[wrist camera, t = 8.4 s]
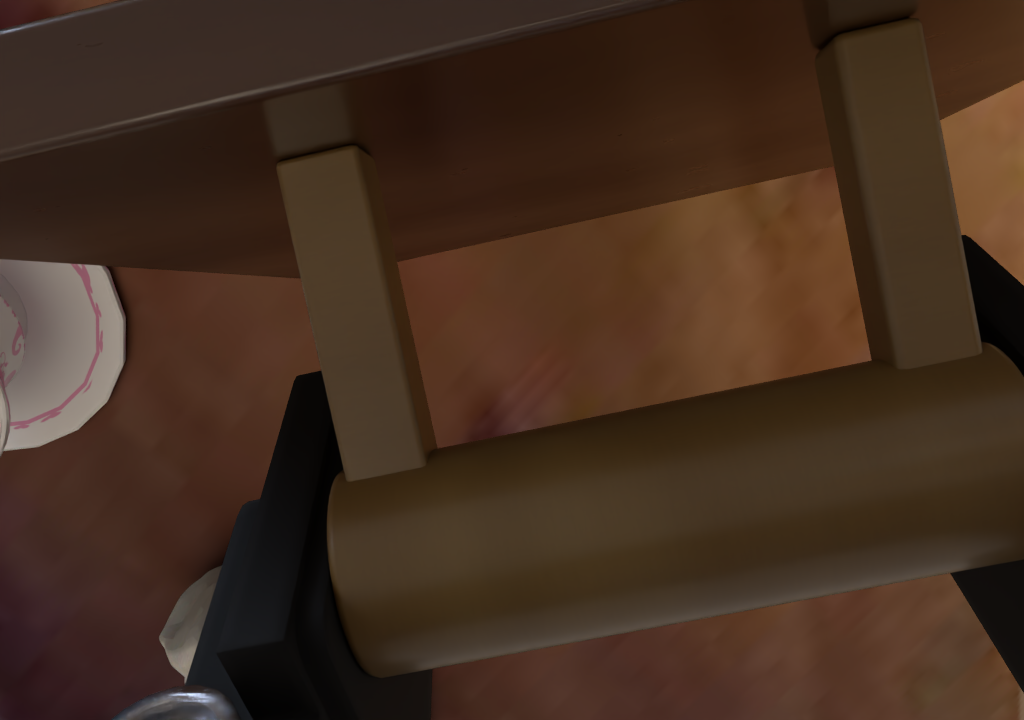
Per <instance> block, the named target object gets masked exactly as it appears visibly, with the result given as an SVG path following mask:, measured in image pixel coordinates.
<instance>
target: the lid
mask: <svg viewBox="0 0 1024 720" xmlns="http://www.w3.org/2000/svg"><path fill="white" fill-rule="evenodd" d="M1023 80H1024V0H118V1H114V2H110V3H106V4H102V5H98V6H94V7H90V8H86V9H82V10H78V11H74V12H70V13H66V14H62V15H58V16H53V17H49V18H45V19H41V20H37V21H33V22H29V23H25V24H21V25H17V26H13V27H9V28H5V29H1V30H0V259H5V260H21V261H36V262H52V263H67V264H83V265H99V266H114V267H130V268H145V269H161V270H177V271H192V272H208V273H223V274H239V275H255V276H270V277H286V278H301V282H302V286H303V291H304V295H305V300H306V304H307V308H308V313H309V317H310V322H311V326H312V331H313V335H314V340H315V344H316V349H317V353H318V358H319V362H320V366H321V371H322V375H323V380H324V384H325V389H326V393H327V398H328V402H329V407H330V411H331V416H332V420H333V424H334V429H335V433H336V438H337V442H338V447H339V451H340V456H341V460H342V465H343V469H344V470H342V471H341V472H339V473H338V475H337V476H336V477H335V479H334V481H333V484H332V487H331V491H330V496H329V503H328V512H327V550H328V562H329V570H330V577H331V583H332V589H333V594H334V599H335V603H336V607H337V611H338V615H339V619H340V622H341V625H342V628H343V631H344V634H345V637H346V639H347V642H348V644H349V646H350V649H351V651H352V653H353V655H354V657H355V659H356V661H357V662H358V664H359V665H360V667H361V668H362V669H363V670H364V672H365V673H367V674H368V675H370V676H374V677H378V678H385V677H390V676H396V675H401V674H407V673H412V672H417V671H423V670H428V669H434V668H439V667H444V666H450V665H455V664H461V663H466V662H471V661H477V660H482V659H488V658H493V657H498V656H504V655H509V654H515V653H520V652H526V651H531V650H536V649H542V648H547V647H553V646H558V645H563V644H569V643H574V642H580V641H585V640H590V639H596V638H601V637H607V636H612V635H618V634H623V633H628V632H634V631H639V630H645V629H650V628H655V627H661V626H666V625H672V624H677V623H682V622H688V621H693V620H699V619H704V618H709V617H715V616H720V615H726V614H731V613H737V612H742V611H747V610H753V609H758V608H764V607H769V606H774V605H780V604H785V603H791V602H796V601H801V600H807V599H812V598H818V597H823V596H828V595H834V594H839V593H845V592H850V591H856V590H861V589H866V588H872V587H877V586H883V585H888V584H893V583H899V582H904V581H910V580H915V579H920V578H926V577H931V576H937V575H942V574H947V573H953V572H958V571H964V570H969V569H975V568H980V567H985V566H991V565H996V564H1002V563H1007V562H1012V561H1018V560H1023V559H1024V377H1023V375H1022V374H1021V372H1020V371H1019V369H1018V368H1017V366H1016V365H1015V364H1014V363H1013V362H1012V360H1011V359H1010V358H1009V357H1008V356H1007V355H1006V354H1005V353H1004V352H1003V351H1001V350H1000V349H999V348H997V347H996V346H994V345H992V344H990V343H986V342H981V338H980V333H979V328H978V322H977V317H976V312H975V306H974V301H973V296H972V290H971V285H970V279H969V274H968V269H967V263H966V258H965V253H964V247H963V242H962V237H961V231H960V226H959V220H958V215H957V210H956V204H955V199H954V194H953V188H952V183H951V178H950V172H949V167H948V161H947V156H946V151H945V145H944V140H943V135H942V129H941V124H940V120H942V119H944V118H946V117H948V116H950V115H952V114H954V113H956V112H958V111H960V110H963V109H965V108H967V107H969V106H971V105H973V104H975V103H977V102H979V101H981V100H983V99H986V98H988V97H990V96H992V95H994V94H996V93H998V92H1000V91H1002V90H1004V89H1006V88H1009V87H1011V86H1013V85H1015V84H1017V83H1019V82H1021V81H1023ZM832 166H834V167H835V172H836V177H837V183H838V188H839V193H840V198H841V203H842V208H843V214H844V219H845V224H846V229H847V234H848V240H849V245H850V250H851V255H852V260H853V266H854V271H855V276H856V281H857V286H858V291H859V297H860V302H861V307H862V312H863V317H864V323H865V328H866V333H867V338H868V343H869V348H870V354H871V359H872V361H867V362H862V363H857V364H852V365H847V366H842V367H838V368H833V369H828V370H823V371H818V372H813V373H808V374H803V375H798V376H793V377H788V378H783V379H778V380H774V381H769V382H764V383H759V384H754V385H749V386H744V387H739V388H734V389H729V390H724V391H719V392H714V393H709V394H705V395H700V396H695V397H690V398H685V399H680V400H675V401H670V402H665V403H660V404H655V405H650V406H645V407H640V408H636V409H631V410H626V411H621V412H616V413H611V414H606V415H601V416H596V417H591V418H586V419H581V420H576V421H571V422H567V423H562V424H557V425H552V426H547V427H542V428H537V429H532V430H527V431H522V432H517V433H512V434H507V435H502V436H498V437H493V438H488V439H483V440H478V441H473V442H468V443H463V444H458V445H453V446H448V447H443V448H437V444H436V439H435V435H434V430H433V425H432V421H431V416H430V412H429V407H428V403H427V398H426V393H425V389H424V384H423V380H422V375H421V371H420V366H419V361H418V357H417V352H416V348H415V343H414V338H413V334H412V329H411V325H410V320H409V316H408V311H407V306H406V302H405V297H404V293H403V288H402V284H401V279H400V274H399V270H398V265H397V262H399V261H403V260H408V259H412V258H417V257H421V256H426V255H431V254H435V253H440V252H444V251H449V250H453V249H458V248H463V247H467V246H472V245H476V244H481V243H485V242H490V241H494V240H499V239H504V238H508V237H513V236H517V235H522V234H526V233H531V232H536V231H540V230H545V229H549V228H554V227H558V226H563V225H568V224H572V223H577V222H581V221H586V220H590V219H595V218H599V217H604V216H609V215H613V214H618V213H622V212H627V211H631V210H636V209H641V208H645V207H650V206H654V205H659V204H663V203H668V202H672V201H677V200H682V199H686V198H691V197H695V196H700V195H704V194H709V193H714V192H718V191H723V190H727V189H732V188H736V187H741V186H746V185H750V184H755V183H759V182H764V181H768V180H773V179H777V178H782V177H787V176H791V175H796V174H800V173H805V172H809V171H814V170H819V169H823V168H828V167H832Z"/></svg>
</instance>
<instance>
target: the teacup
mask: <svg viewBox="0 0 1024 720" xmlns="http://www.w3.org/2000/svg"><path fill="white" fill-rule="evenodd" d="M125 361H126V316H125V313H124V311H123V308H122V305H121V302H120V299H119V297H118V294H117V291H116V288H115V285H114V283H113V280H112V277H111V274H110V272H109V270H108V268H107V267H106V266H99V265H83V264H67V263H52V262H36V261H21V260H5V259H0V457H1V455H2V453H3V451H7V450H16V449H25V448H34V447H39V446H42V445H44V444H46V443H49V442H51V441H53V440H55V439H58V438H60V437H62V436H65V435H67V434H69V433H72V432H74V431H76V430H78V429H79V428H80V427H81V426H82V425H83V424H85V423H86V422H87V421H88V420H89V419H90V418H91V417H92V416H93V415H94V414H95V413H96V412H97V411H98V410H99V409H100V408H101V407H102V406H103V405H104V404H105V403H106V402H107V401H108V400H109V398H110V396H111V394H112V391H113V389H114V386H115V384H116V382H117V379H118V377H119V375H120V372H121V370H122V368H123V365H124V363H125Z"/></svg>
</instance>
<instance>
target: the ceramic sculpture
mask: <svg viewBox="0 0 1024 720" xmlns="http://www.w3.org/2000/svg"><path fill="white" fill-rule="evenodd" d="M221 567H222V566H219V567H217V568H215V569H212V570H210V571H208V572H207V573H206V574H205V575H204V576H203V577H202V578H200V579H199V580H198V581H196V582H195V583H194V584H192V585H191V586H190V587H189V588H188V589H187V590H186V591H185V592H184V593H183V594H182V595H181V597H180V598H179V600H178V602H177V604H176V605H175V607H174V609H173V611H172V613H171V615H170V617H169V619H168V621H167V623H166V625H165V627H164V629H163V631H162V632H161V634H160V637H159V639H160V642H161V644H162V645H163V647H164V648H165V651H166V654H167V656H168V658H169V661H170V663H171V665H172V666H173V667H174V668H175V669H176V670H177V671H178V672H180V673H181V674H182V675H183V676H185V683H186V680H187V676H188V673H189V670H190V667H191V664H192V660H193V657H194V654H195V651H196V648H197V644H198V641H199V638H200V635H201V632H202V628H203V625H204V622H205V619H206V616H207V612H208V609H209V606H210V603H211V600H212V596H213V593H214V590H215V587H216V584H217V580H218V577H219V574H220V571H221Z"/></svg>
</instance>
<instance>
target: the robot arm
mask: <svg viewBox="0 0 1024 720" xmlns="http://www.w3.org/2000/svg"><path fill="white" fill-rule="evenodd" d="M961 237H962V242H963V247H964V253H965V258H966V263H967V269H968V274H969V279H970V285H971V290H972V296H973V301H974V306H975V312H976V317H977V322H978V328H979V333H980V338H981V342H986V343H990V344H992V345H994V346H996V347H997V348H999V349H1000V350H1001V351H1003V352H1004V353H1005V354H1006V355H1007V356H1008V357H1009V358H1010V359H1011V360H1012V362H1013V363H1014V364H1015V365H1016V366H1017V368H1018V369H1019V371H1020V372H1021V374H1022V375H1023V377H1024V286H1023V285H1022V284H1021V283H1020V282H1019V281H1018V280H1017V279H1016V278H1014V277H1013V276H1012V275H1011V274H1010V273H1009V272H1008V271H1007V270H1006V269H1004V268H1003V267H1002V266H1001V265H1000V264H999V263H998V262H997V261H996V260H994V259H993V258H992V257H991V256H990V255H989V254H988V253H987V252H986V251H984V250H983V249H982V248H981V247H980V246H979V245H978V244H977V243H976V242H974V241H973V240H972V239H971V238H970V237H968V236H966V235H961ZM342 470H344V469H343V465H342V460H341V456H340V451H339V447H338V442H337V438H336V433H335V429H334V424H333V420H332V416H331V411H330V407H329V402H328V398H327V393H326V389H325V384H324V380H323V375H322V371H317V372H313V373H308V374H303V375H299V376H297V377H296V379H295V380H294V383H293V387H292V390H291V394H290V397H289V401H288V404H287V408H286V411H285V415H284V418H283V422H282V425H281V429H280V432H279V436H278V439H277V443H276V446H275V449H274V453H273V456H272V460H271V463H270V467H269V470H268V474H267V477H266V481H265V484H264V488H263V491H262V495H261V498H260V499H258V500H253V501H249V502H247V503H246V504H244V505H243V506H242V508H241V510H240V512H239V514H238V516H237V519H236V523H235V526H234V529H233V532H232V535H231V539H230V542H229V545H228V548H227V551H226V555H225V558H224V561H223V564H222V567H221V571H220V574H219V577H218V580H217V584H216V587H215V590H214V593H213V596H212V600H211V603H210V606H209V609H208V612H207V616H206V619H205V622H204V625H203V628H202V632H201V635H200V638H199V641H198V644H197V648H196V651H195V654H194V657H193V660H192V664H191V667H190V670H189V673H188V676H187V680H186V683H185V686H177V687H172V688H169V689H166V690H163V691H160V692H157V693H154V694H151V695H148V696H146V697H145V698H143V699H141V700H139V701H138V702H136V703H134V704H132V705H130V706H129V707H127V708H125V709H123V710H122V711H121V712H120V713H119V714H117V715H116V716H115V717H114V718H113V719H111V720H431V694H432V669H428V670H423V671H417V672H412V673H407V674H401V675H396V676H390V677H385V678H378V677H374V676H370V675H368V674H367V673H365V672H364V670H363V669H362V668H361V667H360V665H359V664H358V662H357V661H356V659H355V657H354V655H353V653H352V651H351V649H350V646H349V644H348V642H347V639H346V637H345V634H344V631H343V628H342V625H341V622H340V619H339V615H338V611H337V607H336V603H335V599H334V594H333V589H332V583H331V577H330V570H329V562H328V550H327V512H328V503H329V496H330V491H331V487H332V484H333V481H334V479H335V477H336V476H337V475H338V473H339V472H341V471H342ZM951 575H952V577H953V578H954V580H955V582H956V583H957V585H958V586H959V588H960V590H961V591H962V593H963V595H964V596H965V598H966V599H967V601H968V603H969V604H970V606H971V608H972V609H973V611H974V612H975V614H976V616H977V617H978V619H979V621H980V622H981V624H982V626H983V627H984V629H985V630H986V632H987V634H988V635H989V637H990V639H991V640H992V642H993V643H994V645H995V647H996V648H997V650H998V652H999V653H1000V655H1001V657H1002V658H1003V660H1004V661H1005V663H1006V665H1007V666H1008V668H1009V670H1010V671H1011V673H1012V674H1013V676H1014V678H1015V679H1016V681H1017V683H1018V684H1019V686H1020V688H1021V689H1022V691H1023V692H1024V559H1023V560H1018V561H1012V562H1007V563H1002V564H996V565H991V566H985V567H980V568H975V569H969V570H964V571H958V572H953V573H951Z"/></svg>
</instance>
